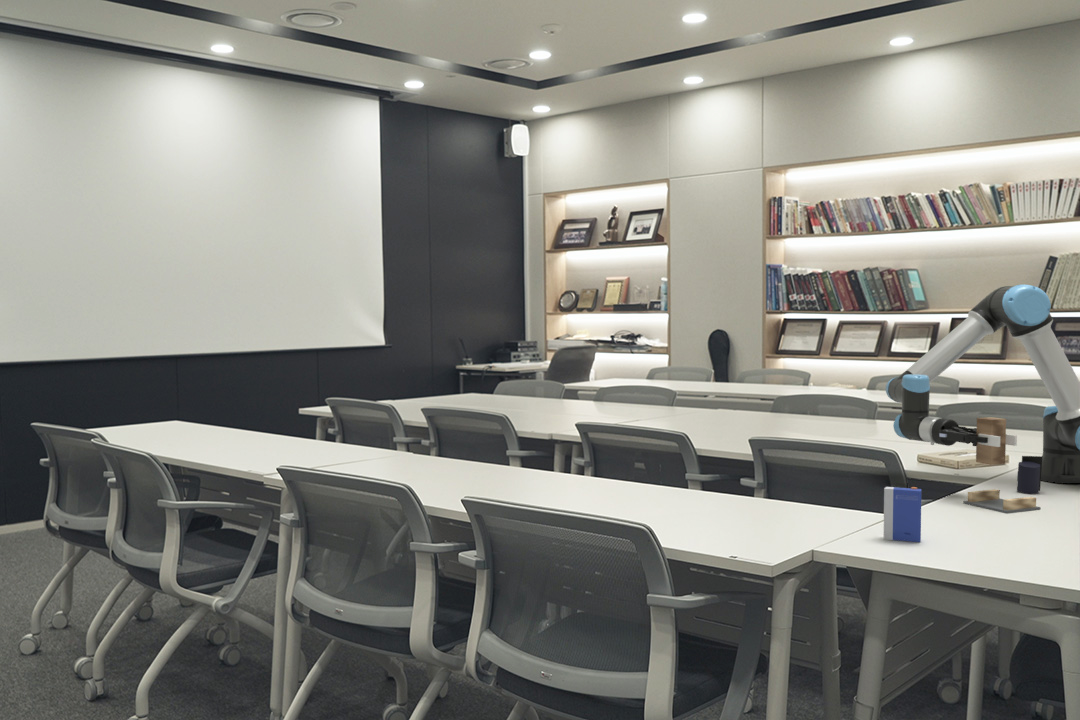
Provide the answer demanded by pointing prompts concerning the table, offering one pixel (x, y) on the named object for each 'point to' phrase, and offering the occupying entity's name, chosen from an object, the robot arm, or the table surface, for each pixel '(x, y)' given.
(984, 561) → the table surface
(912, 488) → the walkman
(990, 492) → the end caps
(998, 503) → the mat
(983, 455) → the brown wooden block
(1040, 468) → the speaker
